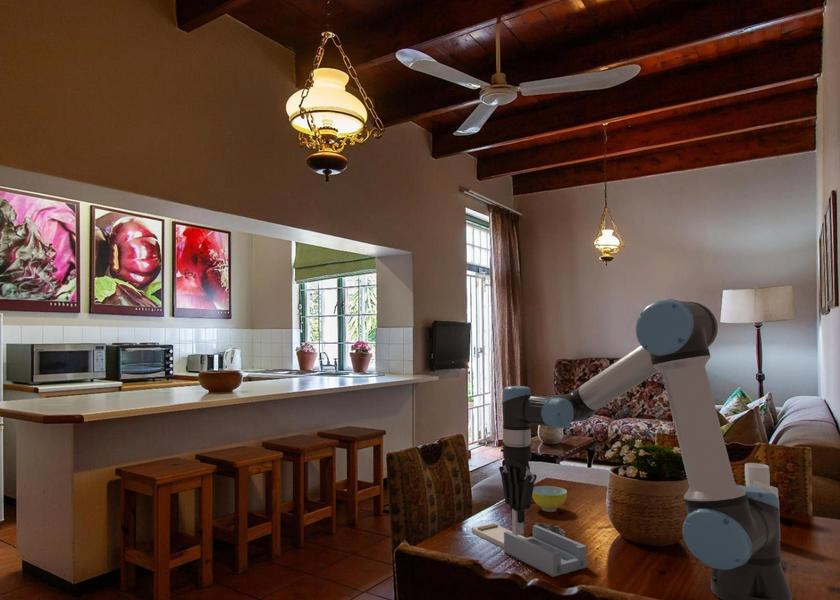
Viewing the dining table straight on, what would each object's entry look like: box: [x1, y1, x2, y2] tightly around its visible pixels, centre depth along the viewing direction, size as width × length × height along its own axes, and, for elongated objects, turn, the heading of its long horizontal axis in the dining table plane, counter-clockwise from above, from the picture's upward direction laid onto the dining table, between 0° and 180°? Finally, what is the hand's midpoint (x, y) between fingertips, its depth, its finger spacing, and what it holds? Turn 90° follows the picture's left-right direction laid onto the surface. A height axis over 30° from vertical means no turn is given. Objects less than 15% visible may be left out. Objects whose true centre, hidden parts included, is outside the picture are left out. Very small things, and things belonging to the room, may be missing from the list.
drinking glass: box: [744, 462, 771, 491], centre depth 181 cm, size 7×7×15 cm
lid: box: [471, 522, 526, 549], centre depth 158 cm, size 16×8×2 cm, turn 31°
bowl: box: [532, 485, 568, 513], centre depth 184 cm, size 11×12×6 cm
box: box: [503, 524, 588, 578], centre depth 144 cm, size 18×11×5 cm, turn 31°
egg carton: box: [534, 521, 567, 537], centre depth 157 cm, size 11×8×4 cm
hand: (517, 533), depth 152 cm, fingers closed
